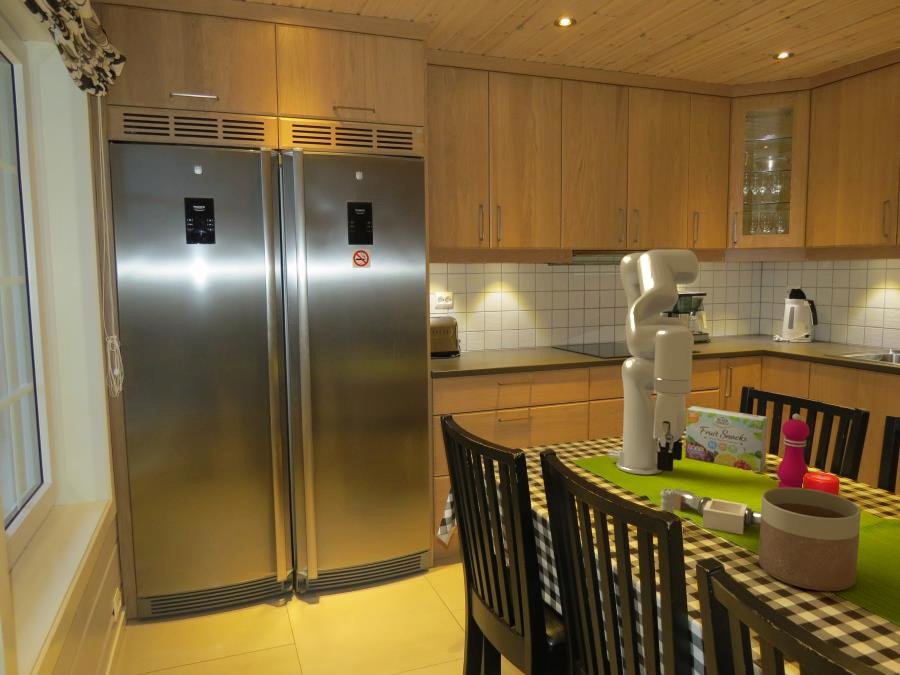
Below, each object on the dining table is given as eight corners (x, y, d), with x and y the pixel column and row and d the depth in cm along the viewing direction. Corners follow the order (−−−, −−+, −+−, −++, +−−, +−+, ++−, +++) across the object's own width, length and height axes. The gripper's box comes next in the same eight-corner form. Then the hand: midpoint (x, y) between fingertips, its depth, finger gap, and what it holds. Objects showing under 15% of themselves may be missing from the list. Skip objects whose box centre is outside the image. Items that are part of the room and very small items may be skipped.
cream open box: (702, 527, 143) (703, 509, 142) (708, 514, 150) (709, 498, 149) (742, 534, 139) (743, 516, 138) (746, 521, 146) (747, 504, 145)
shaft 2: (743, 531, 140) (744, 511, 140) (745, 524, 144) (746, 504, 144) (790, 540, 136) (791, 519, 135) (791, 532, 140) (792, 512, 139)
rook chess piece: (652, 522, 146) (654, 487, 145) (672, 521, 146) (673, 486, 145) (660, 530, 141) (662, 494, 140) (680, 529, 142) (682, 493, 141)
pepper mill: (812, 497, 161) (817, 417, 159) (780, 495, 162) (785, 416, 160) (802, 487, 168) (807, 411, 166) (772, 485, 169) (776, 409, 167)
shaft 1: (713, 515, 149) (714, 496, 149) (700, 519, 147) (701, 500, 147) (682, 503, 157) (683, 485, 156) (669, 506, 155) (670, 488, 154)
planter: (819, 603, 111) (824, 525, 109) (739, 564, 125) (743, 495, 123) (874, 582, 118) (880, 508, 117) (793, 548, 132) (797, 482, 131)
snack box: (683, 458, 193) (685, 408, 192) (690, 454, 198) (693, 405, 196) (760, 473, 180) (763, 419, 178) (766, 468, 184) (769, 415, 182)
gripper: (662, 379, 149) (660, 453, 151) (644, 390, 134) (642, 472, 136) (697, 382, 146) (694, 457, 147) (683, 394, 131) (680, 478, 132)
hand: (669, 464), depth 141 cm, fingers open, 9 cm apart
